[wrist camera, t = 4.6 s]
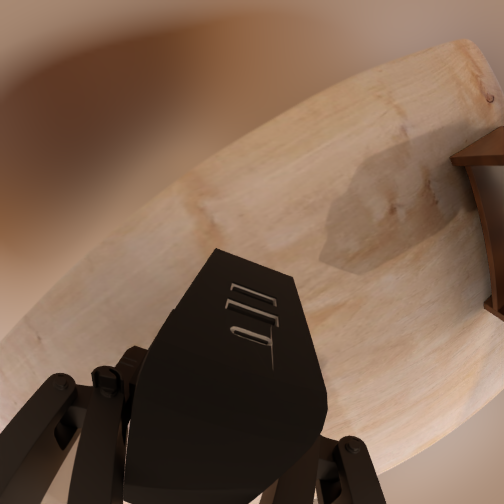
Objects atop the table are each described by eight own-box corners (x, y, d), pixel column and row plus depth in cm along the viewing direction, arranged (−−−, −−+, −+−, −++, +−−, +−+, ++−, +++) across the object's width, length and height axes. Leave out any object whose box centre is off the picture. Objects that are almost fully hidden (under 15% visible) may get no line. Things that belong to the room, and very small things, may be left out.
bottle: (111, 438, 31) (52, 572, 4) (88, 440, 32) (31, 557, 4) (82, 409, 30) (4, 544, 2) (62, 414, 30) (-10, 529, 3)
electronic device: (292, 272, 14) (338, 421, 5) (230, 400, 17) (211, 531, 7) (216, 243, 14) (135, 361, 4) (171, 380, 17) (120, 504, 7)
